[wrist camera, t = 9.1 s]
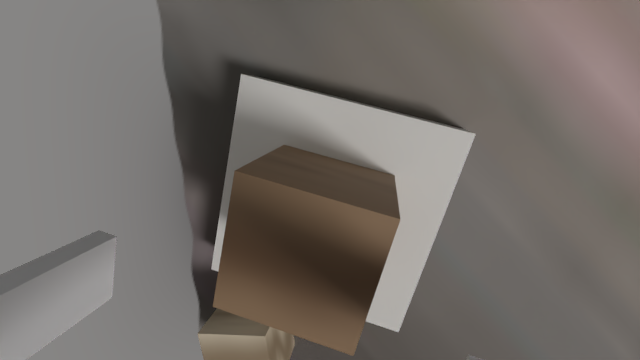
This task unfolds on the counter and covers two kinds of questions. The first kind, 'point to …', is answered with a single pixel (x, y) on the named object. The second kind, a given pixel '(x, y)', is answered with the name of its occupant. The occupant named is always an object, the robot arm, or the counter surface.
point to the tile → (364, 150)
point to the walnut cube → (306, 244)
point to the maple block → (242, 339)
